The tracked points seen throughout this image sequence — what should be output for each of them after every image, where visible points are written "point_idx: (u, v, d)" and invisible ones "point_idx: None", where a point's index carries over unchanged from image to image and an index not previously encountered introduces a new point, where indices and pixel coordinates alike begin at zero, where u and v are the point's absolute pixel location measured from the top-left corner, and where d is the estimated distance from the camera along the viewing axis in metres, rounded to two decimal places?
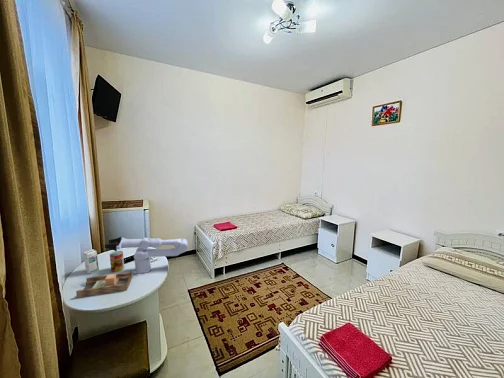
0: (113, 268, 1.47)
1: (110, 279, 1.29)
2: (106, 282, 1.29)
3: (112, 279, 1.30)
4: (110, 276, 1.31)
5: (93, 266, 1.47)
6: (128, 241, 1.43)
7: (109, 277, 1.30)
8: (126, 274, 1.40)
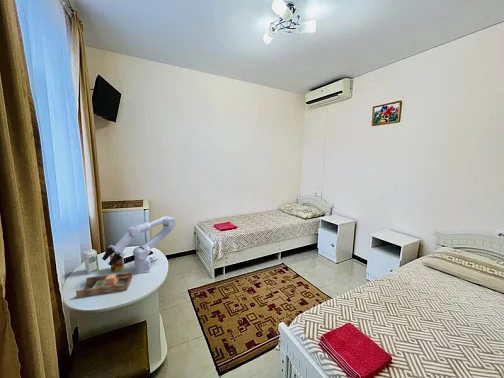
0: (113, 268, 1.47)
1: (110, 279, 1.29)
2: (106, 282, 1.29)
3: (112, 279, 1.30)
4: (110, 276, 1.31)
5: (93, 267, 1.47)
6: (121, 244, 1.37)
7: (109, 277, 1.30)
8: (126, 274, 1.40)
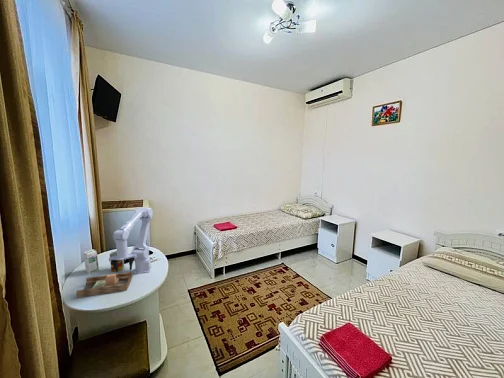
0: (113, 268, 1.47)
1: (110, 279, 1.29)
2: (106, 282, 1.29)
3: (112, 279, 1.30)
4: (110, 276, 1.31)
5: (93, 266, 1.47)
6: (124, 251, 1.30)
7: (109, 277, 1.30)
8: (126, 274, 1.40)
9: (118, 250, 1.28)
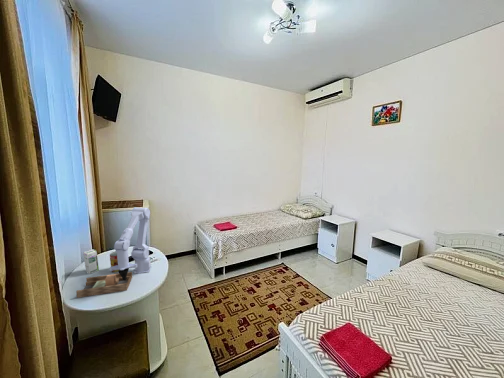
0: None
1: (110, 279, 1.29)
2: (106, 282, 1.29)
3: (112, 279, 1.30)
4: (110, 276, 1.31)
5: (93, 266, 1.47)
6: (125, 261, 1.31)
7: (109, 277, 1.30)
8: None
9: (119, 260, 1.29)
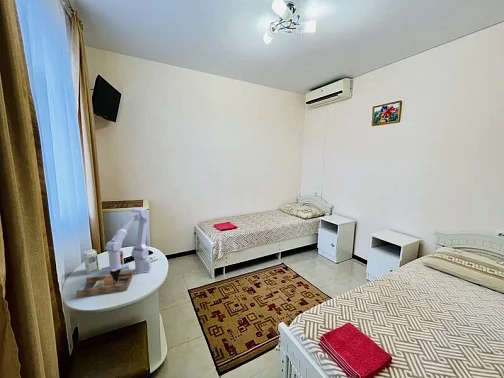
0: None
1: (109, 279, 1.29)
2: (105, 282, 1.29)
3: (111, 279, 1.30)
4: (108, 276, 1.31)
5: (93, 266, 1.47)
6: (117, 262, 1.29)
7: (108, 277, 1.30)
8: (126, 274, 1.40)
9: (110, 261, 1.28)
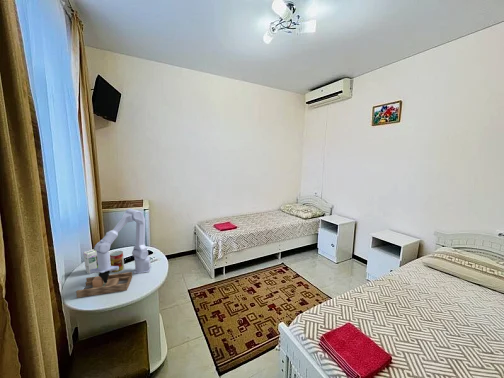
0: None
1: (97, 281, 1.28)
2: (93, 284, 1.27)
3: (99, 281, 1.28)
4: (97, 277, 1.30)
5: (93, 267, 1.47)
6: (106, 263, 1.28)
7: (96, 279, 1.28)
8: (126, 274, 1.40)
9: (98, 262, 1.27)
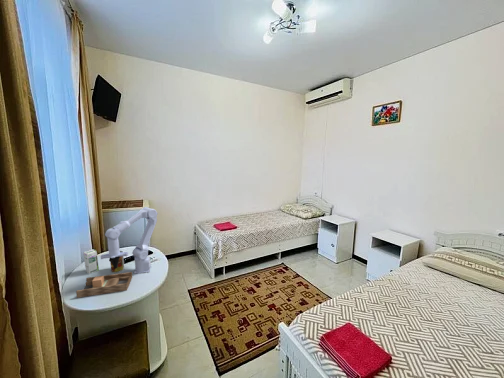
0: (113, 268, 1.47)
1: (97, 281, 1.28)
2: (93, 284, 1.27)
3: (99, 281, 1.28)
4: (97, 277, 1.30)
5: (93, 267, 1.47)
6: (116, 249, 1.33)
7: (96, 279, 1.28)
8: (126, 274, 1.40)
9: (108, 248, 1.32)
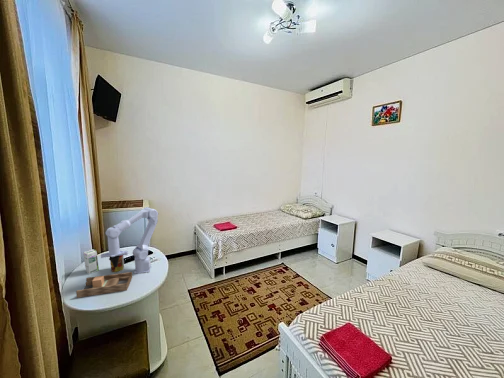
0: (113, 268, 1.47)
1: (97, 281, 1.28)
2: (93, 284, 1.27)
3: (99, 281, 1.28)
4: (97, 277, 1.30)
5: (93, 267, 1.47)
6: (116, 248, 1.33)
7: (96, 279, 1.28)
8: (126, 274, 1.40)
9: None
